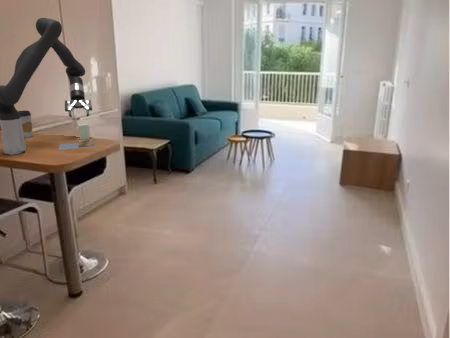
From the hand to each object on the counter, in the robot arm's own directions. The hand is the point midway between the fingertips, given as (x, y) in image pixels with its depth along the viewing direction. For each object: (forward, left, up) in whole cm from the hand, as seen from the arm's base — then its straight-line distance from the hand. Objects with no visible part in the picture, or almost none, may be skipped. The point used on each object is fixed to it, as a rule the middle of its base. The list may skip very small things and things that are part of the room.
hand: (79, 116), depth 205 cm
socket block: (-7, -11, -13) cm, 18 cm away
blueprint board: (-10, -8, -14) cm, 19 cm away
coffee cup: (-8, +39, -14) cm, 42 cm away
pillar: (-7, -11, -11) cm, 17 cm away
